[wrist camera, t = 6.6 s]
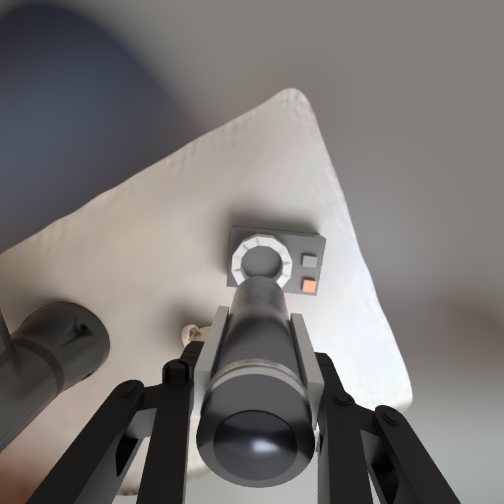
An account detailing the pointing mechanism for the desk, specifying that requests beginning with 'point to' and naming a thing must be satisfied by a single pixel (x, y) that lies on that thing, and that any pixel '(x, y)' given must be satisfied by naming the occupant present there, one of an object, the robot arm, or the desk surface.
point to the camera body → (276, 258)
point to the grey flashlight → (256, 395)
